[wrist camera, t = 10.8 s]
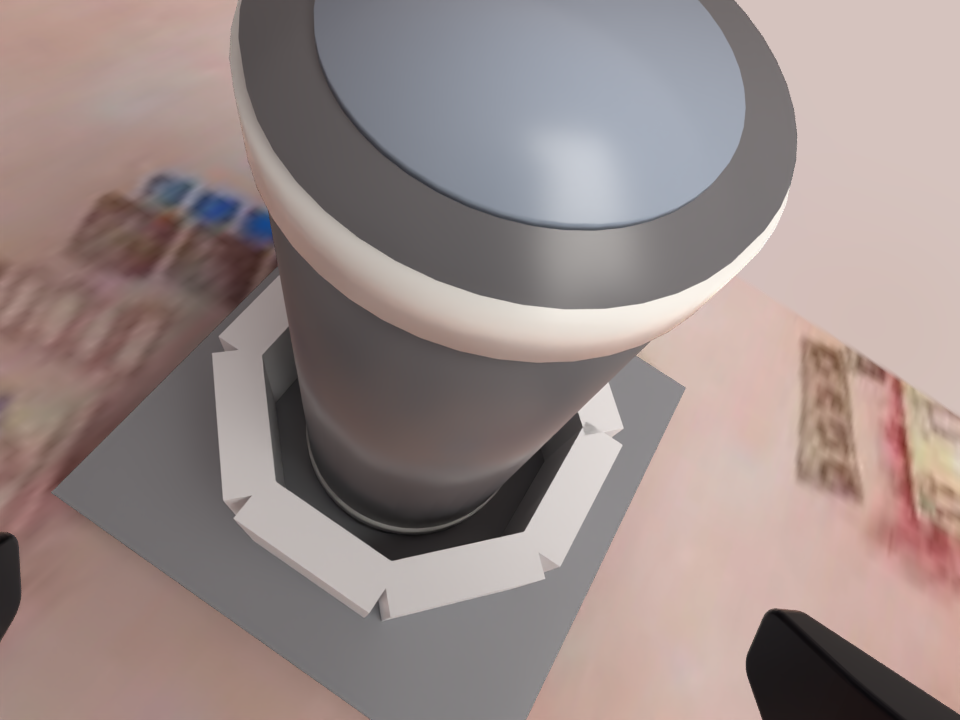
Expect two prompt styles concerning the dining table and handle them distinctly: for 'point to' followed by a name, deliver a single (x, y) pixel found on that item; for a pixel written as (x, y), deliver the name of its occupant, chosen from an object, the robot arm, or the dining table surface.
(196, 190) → the dining table surface
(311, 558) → the stand
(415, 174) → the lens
